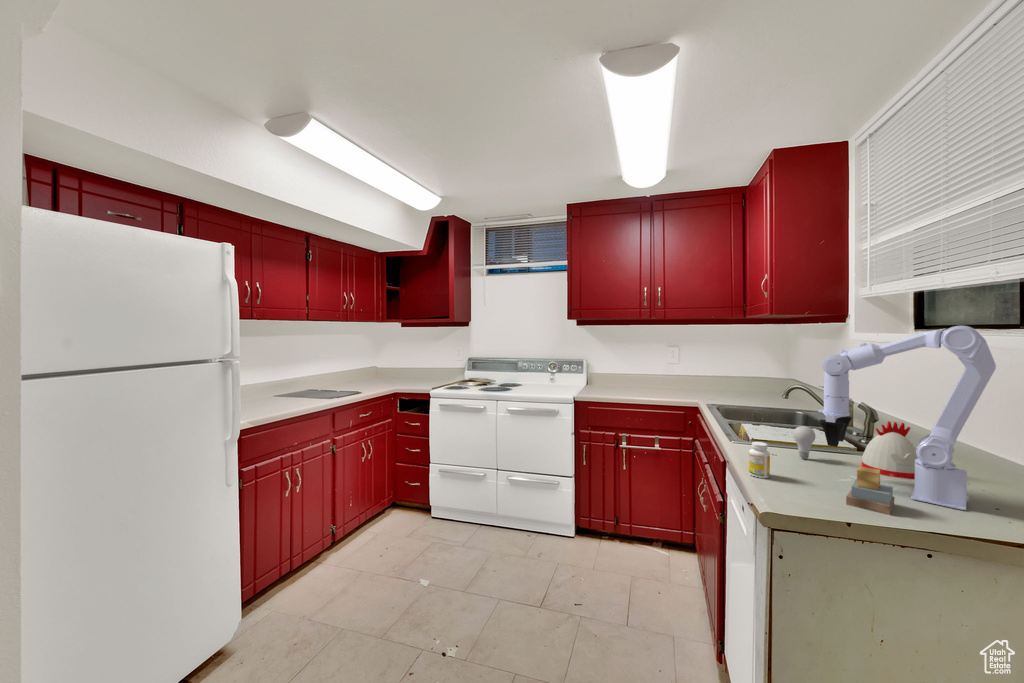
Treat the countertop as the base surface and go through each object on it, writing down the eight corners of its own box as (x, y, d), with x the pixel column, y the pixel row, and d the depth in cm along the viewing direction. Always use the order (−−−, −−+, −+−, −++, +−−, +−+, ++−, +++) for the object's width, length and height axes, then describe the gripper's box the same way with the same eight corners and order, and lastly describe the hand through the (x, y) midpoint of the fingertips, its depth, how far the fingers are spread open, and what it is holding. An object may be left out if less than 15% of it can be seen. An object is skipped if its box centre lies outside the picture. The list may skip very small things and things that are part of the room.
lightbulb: (819, 461, 135) (820, 428, 135) (800, 462, 135) (801, 428, 135) (806, 456, 141) (807, 423, 141) (788, 456, 141) (788, 424, 141)
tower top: (892, 496, 102) (892, 486, 102) (889, 505, 98) (889, 494, 98) (856, 488, 108) (856, 479, 107) (851, 496, 103) (851, 486, 103)
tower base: (894, 506, 102) (894, 496, 102) (889, 517, 97) (889, 506, 97) (852, 497, 108) (852, 487, 108) (846, 506, 103) (846, 496, 103)
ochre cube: (880, 486, 103) (880, 469, 103) (878, 490, 100) (878, 473, 100) (858, 482, 106) (859, 466, 106) (857, 486, 103) (857, 469, 103)
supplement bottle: (756, 479, 121) (757, 446, 120) (744, 472, 126) (744, 441, 126) (774, 478, 121) (774, 445, 121) (761, 471, 127) (761, 440, 126)
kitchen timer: (935, 481, 118) (936, 428, 117) (875, 476, 122) (876, 425, 122) (906, 465, 131) (907, 418, 130) (853, 461, 135) (854, 415, 135)
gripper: (825, 391, 127) (824, 436, 127) (812, 397, 117) (812, 445, 118) (854, 394, 122) (854, 440, 122) (844, 400, 112) (843, 450, 112)
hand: (835, 443), depth 120 cm, fingers open, 7 cm apart
